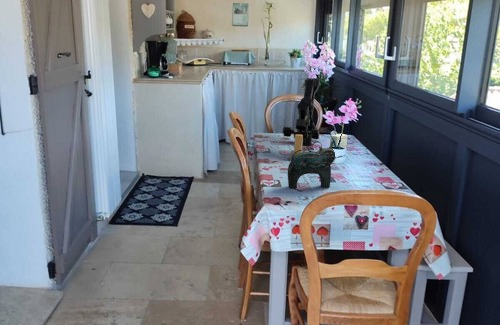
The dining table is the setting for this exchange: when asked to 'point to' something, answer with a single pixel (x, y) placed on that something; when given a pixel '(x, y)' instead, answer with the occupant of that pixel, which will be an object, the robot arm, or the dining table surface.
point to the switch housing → (294, 155)
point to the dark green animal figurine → (311, 165)
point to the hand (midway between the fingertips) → (298, 146)
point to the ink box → (337, 138)
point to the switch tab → (298, 143)
